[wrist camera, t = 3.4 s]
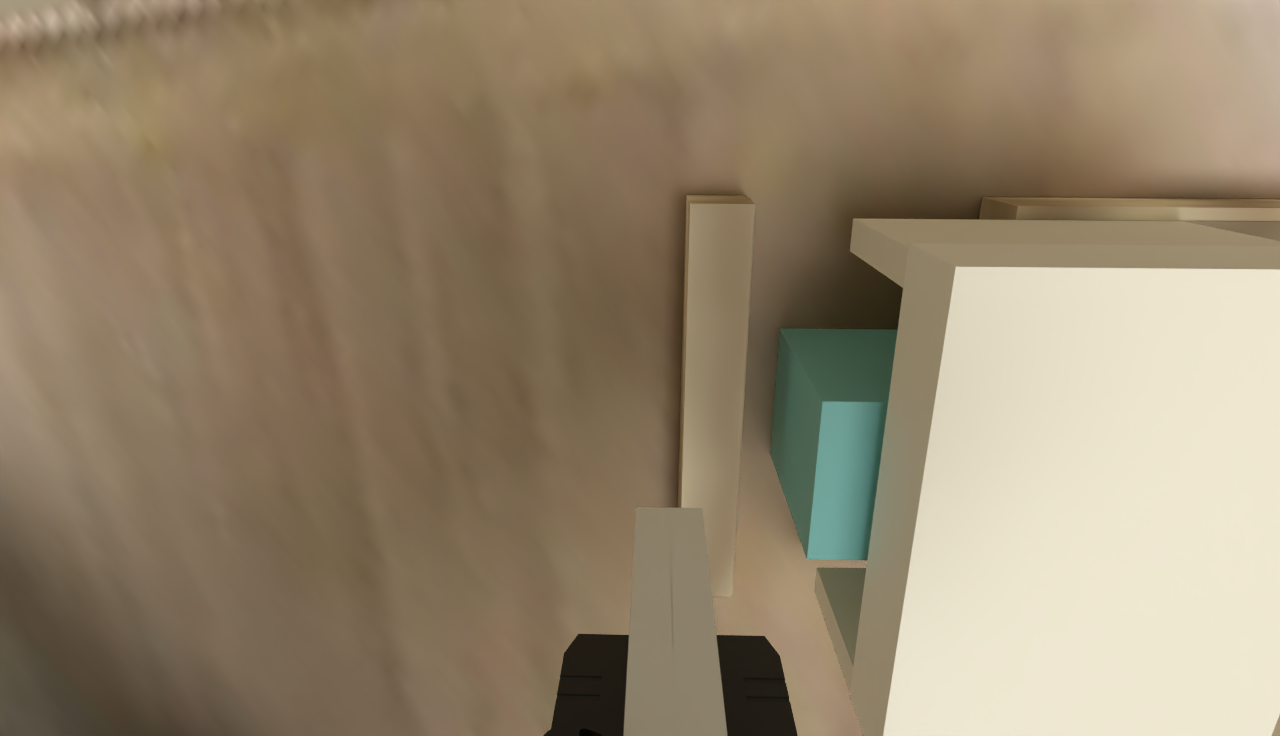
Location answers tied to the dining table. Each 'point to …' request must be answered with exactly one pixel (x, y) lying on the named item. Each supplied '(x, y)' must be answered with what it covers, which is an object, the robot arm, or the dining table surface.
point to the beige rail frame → (722, 321)
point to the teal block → (831, 433)
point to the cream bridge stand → (1071, 484)
